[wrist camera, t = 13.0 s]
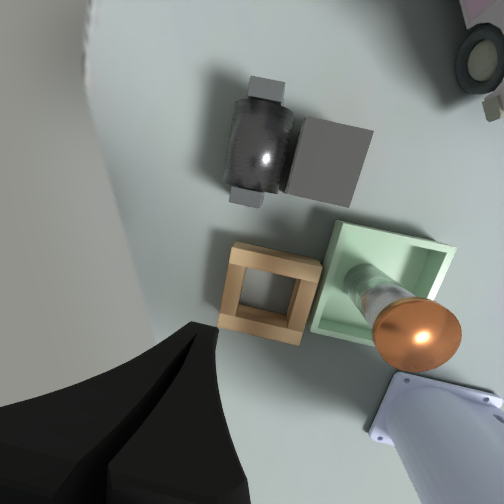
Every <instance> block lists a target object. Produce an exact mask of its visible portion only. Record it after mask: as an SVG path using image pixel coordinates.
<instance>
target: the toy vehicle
mask: <svg viewBox="0 0 504 504" xmlns="http://www.w3.org/2000/svg"><path fill="white" fill-rule="evenodd" d="M460 4H461V8H462V12H463V16H464V20H465V24H466V28H467V30H468V29H470V28H472V27H474V26H476V25H478V24H480V23H484V24H483V25H481V26H480V27H478V28H477V29H476V30H474V31H473V32H472V33H471V34H470V35H469V36H468V38H467V39H466V40H465V42H464V43H463V44H462V46H461V47H460V50H459V53H458V56H457V59H456V75H457V79H458V81H459V83H460V86H461V87H462V88H463V89H464V90H465V91H466V92H469V93H471V94H485V93H489V92H492V91H494V92H493V93H492V94H490V95H488V96H487V97H485V98H484V100H485V101H484V102H482V105H483V108H484V112H485V116H486V119H487V121H489V122H491V121H494V120H497V119H499V118H502V117H504V0H460Z"/></svg>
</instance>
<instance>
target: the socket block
mask: <svg viewBox="0 0 504 504" xmlns="http://www.w3.org/2000/svg"><path fill="white" fill-rule="evenodd" d="M246 267H248V268H253V269H257V270H262V271H266V272H271V273H275V274H279V275H284V276H288V277H293V278H296V281H295V285H294V288H293V292H292V296H291V299H290V303H289V307H288V310H287V314H286V315H283V314H279V313H274V312H270V311H266V310H262V309H257V308H253V307H249V306H244V305H240V304H239V301H240V296H241V291H242V286H243V281H244V277H245V272H246ZM322 268H323V267H322V265H321V264H320V262H319V261H318V259H314V258H310V257H305V256H301V255H296V254H292V253H287V252H283V251H278V250H274V249H269V248H265V247H260V246H256V245H251V244H247V243H242V242H238V241H236V242H235V244H234V245H233V246H232V249H231V254H230V259H229V265H228V270H227V275H226V281H225V286H224V291H223V297H222V302H221V307H220V313H219V318H218V323H217V327H221V328H225V329H229V330H233V331H238V332H242V333H246V334H250V335H255V336H259V337H263V338H267V339H272V340H276V341H280V342H284V343H288V344H293V345H297V346H299V345H300V341H301V338H302V335H303V331H304V328H305V325H306V321H307V318H308V315H309V311H310V308H311V305H312V301H313V298H314V295H315V291H316V288H317V285H318V281H319V278H320V275H321V271H322Z"/></svg>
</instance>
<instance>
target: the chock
mask: <svg viewBox="0 0 504 504" xmlns="http://www.w3.org/2000/svg"><path fill="white" fill-rule="evenodd" d="M373 132H374V131H372V130H367V129H363V128H358V127H353V126H349V125H344V124H340V123H335V122H330V121H326V120H321V119H316V118H312V117H307V116H306V118H305V120H304V122H303V125H302V127H301V130H300V133H299V137H298V141H297V145H296V149H295V153H294V157H293V161H292V165H291V169H290V173H289V177H288V181H287V185H286V189H285V194H290V195H294V196H299V197H304V198H308V199H312V200H317V201H321V202H326V203H330V204H334V205H339V206H343V207H348V208H349V206H350V203H351V200H352V197H353V194H354V191H355V188H356V185H357V182H358V179H359V175H360V172H361V169H362V166H363V163H364V160H365V157H366V154H367V151H368V148H369V145H370V142H371V139H372V135H373Z"/></svg>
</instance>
